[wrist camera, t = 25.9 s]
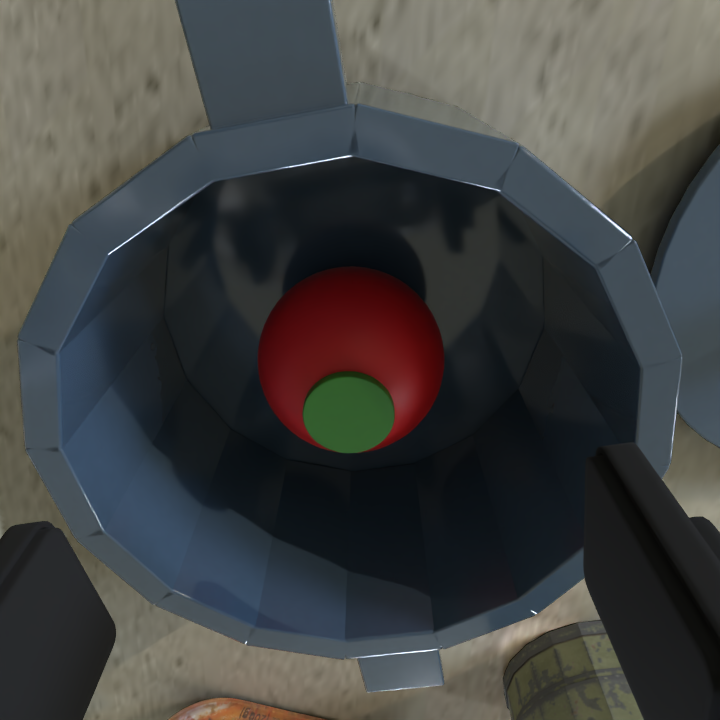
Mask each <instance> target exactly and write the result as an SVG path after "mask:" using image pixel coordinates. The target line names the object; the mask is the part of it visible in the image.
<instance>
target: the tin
mask: <svg viewBox="0 0 720 720" xmlns="http://www.w3.org/2000/svg"><path fill="white" fill-rule="evenodd" d="M168 720H327V719H322V718H318V717H313V716H309V715H305V714H300V713H296V712H291V711H287V710H283V709H279V708H275V707H270V706H266V705H262V704H258V703H254V702H249V701H245V700H240V699H235V698H212V699H207V700H203V701H200V702H197V703H194V704H192V705H190V706H188V707H186V708H184V709H182V710H180V711H179V712H177V713H176V714H174V715H173V716H171V717H170V718H169V719H168Z"/></svg>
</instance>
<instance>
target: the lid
mask: <svg viewBox="0 0 720 720" xmlns="http://www.w3.org/2000/svg"><path fill="white" fill-rule="evenodd" d="M650 276H651V278H652V281H653V283H654V286H655V288H656V291H657V293H658V295H659V298H660V300H661V303H662V305H663V308H664V310H665V312H666V315H667V317H668V320H669V322H670V325H671V327H672V330H673V332H674V334H675V337H676V339H677V342H678V344H679V347H680V349H681V352H682V358H683V360H682V369H681V378H680V387H679V396H678V405H677V413H678V414H679V415H680V417H681V418H682V419H683V420H684V421H685V422H686V424H687V425H689V426H690V427H691V428H692V429H693V430H694V431H696V432H697V433H698V434H699V435H700V436H701V437H703V438H704V439H705V440H707V441H709V442H710V443H712V444H714V445H715V446H717V447H719V448H720V144H719V145H718V146H717V148H716V149H715V150H714V151H713V152H712V153H711V155H710V156H709V158H708V159H707V161H706V162H705V163H704V165H703V166H702V168H701V169H700V170H699V172H698V173H697V175H696V176H695V178H694V179H693V180H692V182H691V183H690V185H689V186H688V188H687V190H686V192H685V193H684V195H683V197H682V199H681V201H680V202H679V204H678V206H677V208H676V210H675V211H674V213H673V215H672V217H671V219H670V221H669V224H668V226H667V228H666V231H665V233H664V236H663V238H662V240H661V243H660V245H659V247H658V250H657V254H656V257H655V261H654V264H653V268H652V271H651V275H650Z"/></svg>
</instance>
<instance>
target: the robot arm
mask: <svg viewBox="0 0 720 720" xmlns="http://www.w3.org/2000/svg"><path fill="white" fill-rule="evenodd" d="M583 571H584V577H585V581H586V585H587V588H588V590H589V593H590V595H591V598H592V600H593V602H594V605H595V607H596V609H597V612H598V614H599V616H600V619H601V621H602V623H603V626H604V628H605V630H606V633H607V635H608V637H609V640H610V642H611V644H612V647H613V649H614V651H615V654H616V656H617V658H618V661H619V663H620V665H621V668H622V670H623V673H624V675H625V677H626V680H627V682H628V684H629V687H630V689H631V691H632V694H633V696H634V698H635V701H636V703H637V705H638V708H639V710H640V712H641V715H642V717H643V719H644V720H720V532H719V531H718V530H717V528H716V527H715V526H714V525H713V524H712V523H711V522H710V521H709V520H707V519H706V518H704V517H691V518H689V517H688V516H687V514H686V513H685V512H684V510H683V509H682V507H681V506H680V505H679V503H678V502H677V500H676V499H675V498H674V496H673V495H672V493H671V492H670V491H669V489H668V488H667V486H666V485H665V483H664V482H663V481H662V479H661V478H660V476H659V475H658V474H657V472H656V471H655V469H654V468H653V467H652V465H651V464H650V462H649V461H648V460H647V458H646V457H645V455H644V454H643V452H642V451H641V450H640V448H639V447H638V446H637V445H636V444H635V443H633V442H630V443H622V444H615V445H608V446H600V447H598V448H597V450H596V454H595V456H592V457H587V458H586V463H585V507H584V555H583ZM115 638H116V628H115V624H114V621H113V620H112V618H111V616H110V614H109V613H108V611H107V609H106V607H105V605H104V604H103V602H102V600H101V598H100V597H99V595H98V593H97V591H96V590H95V588H94V586H93V584H92V583H91V581H90V579H89V577H88V576H87V574H86V572H85V570H84V568H83V567H82V565H81V563H80V561H79V560H78V558H77V556H76V554H75V553H74V551H73V549H72V547H71V546H70V544H69V542H68V540H67V538H66V537H65V535H64V533H63V532H62V531H61V530H60V529H59V528H55V527H54V526H53V525H52V524H51V523H50V522H48V521H41V522H34V523H26V524H19V525H14V526H12V527H10V528H9V529H8V530H7V531H6V532H5V533H4V535H3V536H2V537H1V539H0V720H83V718H84V715H85V713H86V711H87V708H88V706H89V703H90V701H91V699H92V696H93V694H94V691H95V689H96V687H97V684H98V682H99V679H100V677H101V675H102V672H103V670H104V667H105V665H106V663H107V660H108V658H109V655H110V653H111V651H112V648H113V646H114V643H115Z"/></svg>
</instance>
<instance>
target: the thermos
mask: <svg viewBox="0 0 720 720" xmlns="http://www.w3.org/2000/svg"><path fill="white" fill-rule="evenodd" d="M503 685H504V695H505V699H506V704H507V708H508V709H509V710H510V715H511V720H644V719H643V717H642V715H641V712H640V710H639V708H638V705H637V703H636V701H635V698H634V696H633V694H632V691H631V689H630V687H629V684H628V682H627V680H626V677H625V675H624V673H623V670H622V668H621V665H620V663H619V661H618V658H617V656H616V654H615V651H614V649H613V647H612V644H611V642H610V640H609V637H608V635H607V633H606V630H605V628H604V626H603V623H602V621H601V620H600V621H591V622H582V623H576V624H573V625H569V626H566V627H563V628H560V629H557V630H554V631H550V632H548V633H546V634H545V635H543V636H541V637H539V638H538V639H536V640H534V641H532V642H531V643H529V644H527V645H526V646H525V647H524V648H523V649H522V650H521V651H520V652H519V653H518V654H517V655H516V656H515V657H514V658H513V659H512V660H511V661H510V663H509V665H508V667H507V670H506V672H505V675H504V677H503Z"/></svg>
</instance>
